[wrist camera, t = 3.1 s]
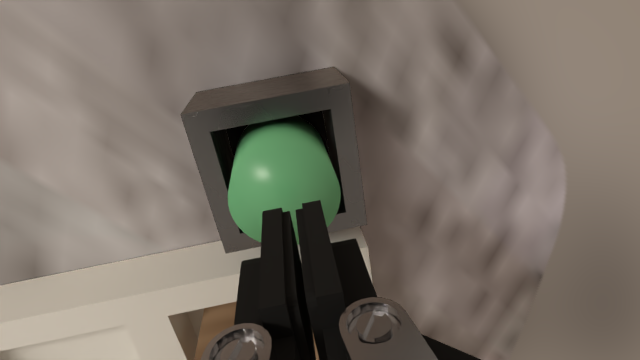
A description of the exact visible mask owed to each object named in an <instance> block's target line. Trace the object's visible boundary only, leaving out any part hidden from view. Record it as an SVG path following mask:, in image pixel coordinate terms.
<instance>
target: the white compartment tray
mask: <svg viewBox="0 0 640 360" xmlns="http://www.w3.org/2000/svg"><path fill="white" fill-rule="evenodd" d="M328 234H329V238H330V242H331V243H334V242H339V241H344V240H349V239H354V238H356V240H357V242H358V245H359V248H360V251H361V253H362V256H363V259H364V262H365V265H366V267H367V270H368V273H369V276H370V278H371V281H372V275H371V267H370V259H369V251H368V246H367V243H366V241H365V238H364V236H363V233H362V231H361V229H360V226H359V227H354V228H349V229H344V230H339V231H334V232H329V233H328ZM297 245H298V250H299V254H300V246H299V244H297ZM260 255H261V247H256V248H251V249H246V250H241V251H237V252H232V253H227V254H226V253H225V250H224V247H223V244H222V241H217V242H212V243H207V244H202V245H197V246H192V247H187V248H182V249H177V250H172V251H168V252H163V253H158V254H153V255H148V256H143V257H138V258H133V259H128V260H123V261H118V262H113V263H108V264H104V265H99V266H94V267H89V268H84V269H79V270H74V271H69V272H64V273H59V274H54V275H49V276H45V277H40V278H35V279H30V280H25V281H20V282H15V283H10V284H5V285H0V360H194V358H195V353H196V348H197V343H198V337H199V332H200V327H201V322H202V317H203V312H204V308H208V307H212V306H217V305H222V304H227V303H231V302H236V301H237V293H238V285H239V276H240V268H241V262H242V261H244V260H249V259H254V258H259V257H260ZM300 259H301V254H300ZM372 284H373V283H372Z"/></svg>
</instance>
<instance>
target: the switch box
mask: <svg viewBox="0 0 640 360" xmlns="http://www.w3.org/2000/svg"><path fill="white" fill-rule="evenodd" d="M317 111H323V118H324V124H325V130H326V137H327V143H328V149H329V155H330V161H331V164H332V166H333V169H334V171H335V174H336V176H337V179H338V181H339V185H340V193H341V197H340V204H339V208H338V211H337V214H336V216H335V218H334V219H333V221H332V222H331V224H330V225H329V226H328V227H327V229H328V233H329V232H334V231H339V230H344V229H349V228H354V227H359V226H363V225H367V220H366V212H365V204H364V195H363V187H362V179H361V171H360V163H359V155H358V147H357V139H356V131H355V123H354V115H353V106H352V98H351V90H350V83H349V82H348V81H347V80H346V79H345V78H344V77H343V75H342V74H341V73H340V72H339V71H338V70H337V69H336V68H335V67H330V68H324V69H319V70H313V71H308V72H303V73H297V74H292V75H286V76H281V77H276V78H270V79H265V80H260V81H254V82H249V83H243V84H238V85H233V86H227V87H222V88H216V89H211V90H206V91H200V92H196V93H195V95H194V96H193V98H192V99H191V101H190V102H189V103H188V105H187V106H186V108H185V109H184V110H183V112H182V113H181V118H182V121H183V124H184V127H185V130H186V133H187V136H188V139H189V142H190V145H191V148H192V152H193V155H194V158H195V161H196V164H197V167H198V170H199V173H200V176H201V179H202V182H203V185H204V189H205V192H206V195H207V198H208V201H209V204H210V207H211V210H212V213H213V216H214V219H215V222H216V226H217V229H218V232H219V235H220V238H221V241H222V244H223V247H224V250H225V253H226V254H227V253H232V252H237V251H241V250H246V249H251V248H256V247H261V242H259V241H256V240H254V239H253V238H251V237H249V236H248V235H247V234H245V233H244V232H243V231H242V230H241V229H240V228H239V227H238V226H237V224H236V223H235V221H234V220H233V218H232V216H231V213H230V211H229V206H228V189H229V183H230V178H231V173H232V168H233V162H234V156H233V152H232V149H231V145H230V141H229V138H228V134H227V130H226V129H228V128H233V127H238V126H244V125H249V124H254V123H259V122H265V121H270V120H275V119H280V118H286V117H291V116H296V115H301V114H307V113H312V112H317Z"/></svg>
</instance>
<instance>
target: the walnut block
mask: <svg viewBox="0 0 640 360" xmlns="http://www.w3.org/2000/svg"><path fill="white" fill-rule="evenodd" d="M236 302H237V301H236ZM236 302H231V303H227V304H222V305H217V306H212V307H208V308H204V312H203V317H202V322H201V327H200V332H199V337H198V343H197V348H196V353H195V358H194V360H201V357H202V354H203V352H204V350H205V348H206V347H207V345H208V343H209V342H210V341H211V340H212V339H213V338H214V337H215V336H216V335H217V334H219V333H220V332H222V331H223V330H225V329H227V328H229V327H232V326H234V319H235V310H236ZM313 338H314V334H313ZM314 346H315V355H316V360H319V356H318V352H317V348H316V343H315V339H314Z"/></svg>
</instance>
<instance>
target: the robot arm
mask: <svg viewBox="0 0 640 360" xmlns="http://www.w3.org/2000/svg"><path fill="white" fill-rule="evenodd" d="M296 219H297V228H298V237H299V246H300V254H301V259H300V254H299V250H298V245H297V241H296V236H295V232H294V227H293V223H292V218H291V214H290V211H287V212H283V210H282V208H276V209H271V210H266V211H263V212H262V233H261V255H260V257H259V258H254V259H249V260H244V261H242V262H241V268H240V276H239V285H238V293H237V302H236V310H235V319H234V326H232V327H229V328H227V329H225V330H223V331H222V332H220V333H219V334H217V335H216V336H215V337H214V338H213V339H212V340H211V341H210V342H209V343H208V345H207V347H206V348H205V350H204V352H203V354H202V357H201V360H316V355H315V346H314V339H315V343H316V348H317V352H318V356H319V360H481V359H478V358H476V357H474V356H471V355H469V354H467V353H464V352H462V351H460V350H457V349H455V348H453V347H450V346H448V345H445V344H443V343H441V342H438V341H436V340H434V339H431V338H429V337H427V336H424V335H422V334H421V333H420V332H419V330H418V329H417V327H416V326H415V324H414V323H413V321H412V320H411V318H410V317H409V315H408V314H407V312H406V311H405V310H404V309H403V308H402V307H401V306H400V305H399V304H397V303H396V302H394V301H392V300H389V299H385V298H382V297H377V295H376V292H375V290H374V287H373V284H372V281H371V278H370V276H369V273H368V270H367V267H366V265H365V262H364V259H363V256H362V253H361V251H360V248H359V245H358V242H357V240H356V238H354V239H349V240H344V241H339V242H334V243H331V242H330V238H329V234H328V229H327V225H326V221H325V217H324V213H323V209H322V205H321V201H320V200H317V201H312V202H307V203H302V209H297V210H296ZM313 334H314V338H313Z"/></svg>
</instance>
